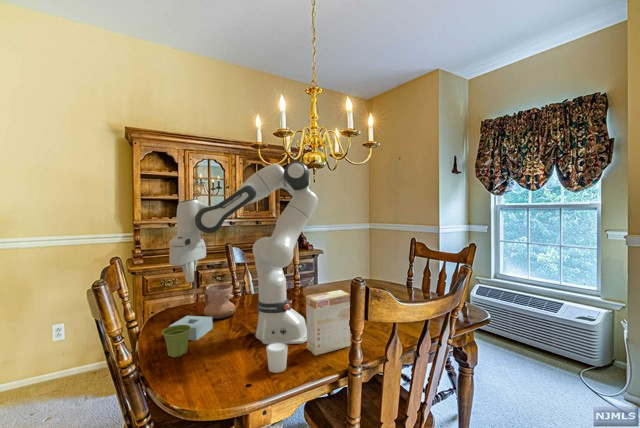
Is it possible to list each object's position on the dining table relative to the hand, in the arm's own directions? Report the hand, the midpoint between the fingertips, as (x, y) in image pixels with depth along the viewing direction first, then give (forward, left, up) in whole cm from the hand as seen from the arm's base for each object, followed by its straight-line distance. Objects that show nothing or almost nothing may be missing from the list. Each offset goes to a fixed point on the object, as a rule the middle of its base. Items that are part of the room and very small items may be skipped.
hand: (189, 272), depth 129 cm
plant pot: (-5, +17, -25) cm, 31 cm away
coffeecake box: (-58, +4, -26) cm, 63 cm away
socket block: (0, 0, -25) cm, 25 cm away
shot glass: (-44, +21, -25) cm, 55 cm away
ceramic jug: (-1, -21, -26) cm, 33 cm away
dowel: (0, 0, -4) cm, 4 cm away
